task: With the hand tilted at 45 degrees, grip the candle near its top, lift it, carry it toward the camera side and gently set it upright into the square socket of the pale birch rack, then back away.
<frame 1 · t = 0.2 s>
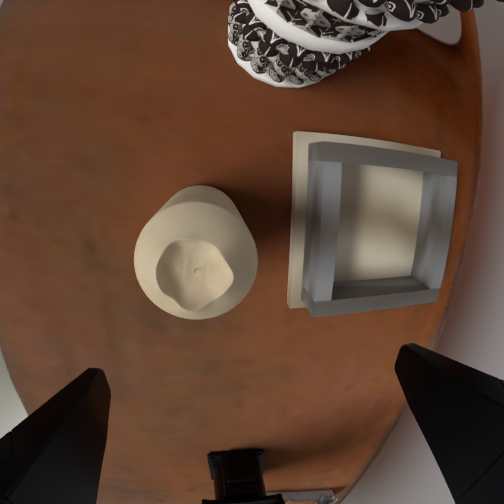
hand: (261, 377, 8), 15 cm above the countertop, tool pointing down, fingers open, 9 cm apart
rack: (368, 222, 23), on the countertop
decorative candle: (285, 38, 18), on the countertop
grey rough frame: (287, 499, 36), on the countertop
candle: (200, 223, 21), on the countertop
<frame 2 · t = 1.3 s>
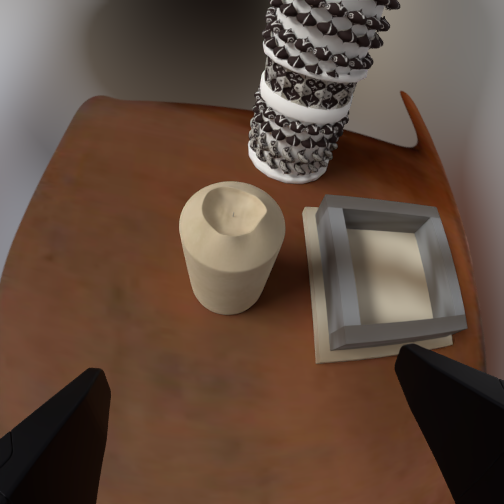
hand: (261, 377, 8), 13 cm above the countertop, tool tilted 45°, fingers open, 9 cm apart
rack: (380, 281, 25), on the countertop
decorative candle: (288, 153, 30), on the countertop
candle: (227, 281, 23), on the countertop
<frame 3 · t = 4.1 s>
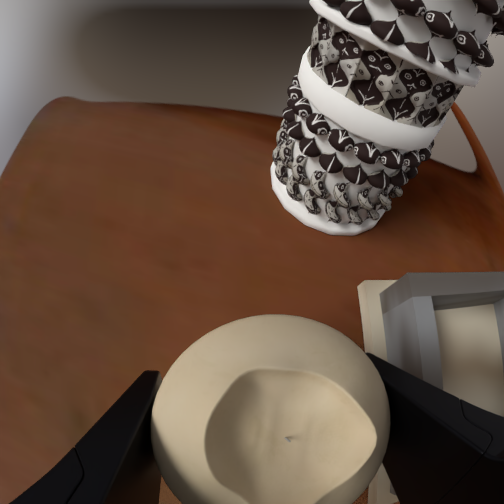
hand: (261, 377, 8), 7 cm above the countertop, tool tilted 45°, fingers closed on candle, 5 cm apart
rack: (453, 379, 15), on the countertop
decorative candle: (330, 184, 20), on the countertop
candle: (245, 410, 13), on the countertop, touching gripper
when the fingers open (9 cm above the countertop, at t = 8.5 s): candle drops 1 cm, resting on rack.
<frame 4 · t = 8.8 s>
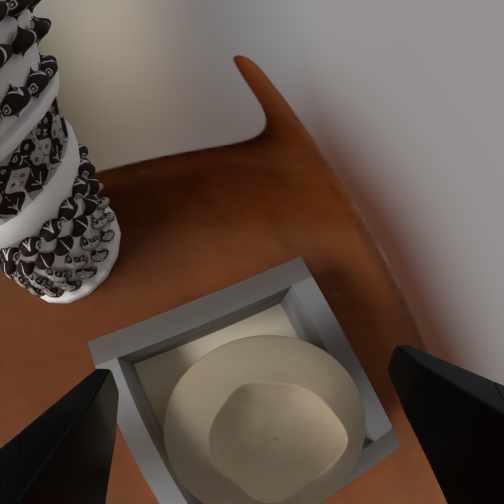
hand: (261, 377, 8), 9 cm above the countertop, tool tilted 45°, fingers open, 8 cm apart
rack: (242, 407, 15), on the countertop
decorative candle: (68, 247, 19), on the countertop
candle: (243, 411, 15), point 1 cm above the countertop, touching rack
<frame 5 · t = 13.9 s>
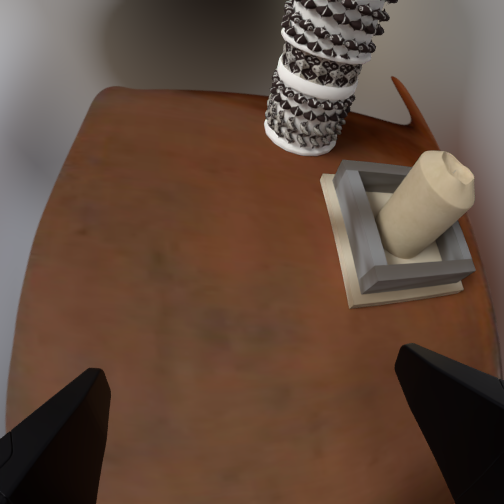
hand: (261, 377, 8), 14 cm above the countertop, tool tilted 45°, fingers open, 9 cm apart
rack: (394, 236, 27), on the countertop
decorative candle: (300, 131, 32), on the countertop
candle: (397, 234, 26), point 1 cm above the countertop, touching rack
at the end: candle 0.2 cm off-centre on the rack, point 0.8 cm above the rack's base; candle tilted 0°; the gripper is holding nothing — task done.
